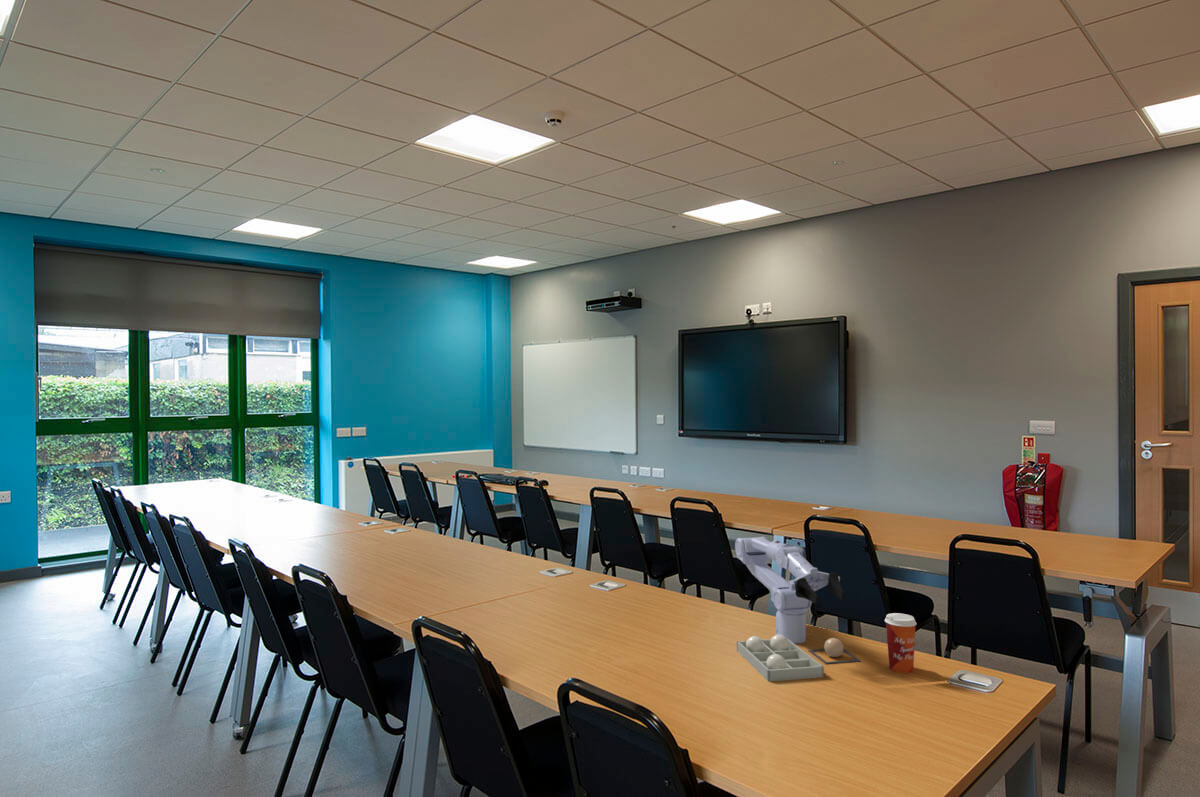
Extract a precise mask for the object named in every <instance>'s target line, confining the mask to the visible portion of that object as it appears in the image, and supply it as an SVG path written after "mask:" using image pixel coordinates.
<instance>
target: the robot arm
mask: <svg viewBox="0 0 1200 797" xmlns="http://www.w3.org/2000/svg"><path fill="white" fill-rule="evenodd" d="M736 538H737V537H736ZM734 550H735V554H736V557H737V560H740V561H741V563H742V564H744V565H745V566H746V567H747V569H748V570H749V572H750V573H751V574H752V576H754V577H755V579H757V580H758V581H759V582H760V583H761V584H763V586H764V587H765V588H767V590H768V591H770V592H771V593H770V596H771V597H770V599H771V602H772V603H773V604H774V607H775V608H776V610H777V611H776V614H775V635H777V634H780V635H783V636H785V637H786V638H787V639H789V640H790V641H791V642H793V643H794V644H803V643H805V642H806V641H807V638H806V636H807V633H806V632H807V631H806V613H808V612H809V609H810V608H811V607H812V603H813V604H815V605H816V604H818V603H819V596H818V594H817V592H816V591H819V589H820V590H821V589H822V588H825V587H826V586H827V585H828V586H827V587H828V593H831V594H833V595H834V596H836V597H837V598H838V599H839V600H845V591H844V590H843V588H842V586H841V583H840V581H841V577H840V576H839V575H838V573H836V572H831V573H828V572H825V571H824V572H823V571H820V570H819V569H818V567H814V566H813V565H812V564H811V563H810V562H809V561H808V560H807V559H806V558H805V557H804V554H803V551H802V549H801V548H800V547H799V546H798V545H794V546H788V544H787V543H781V540H779V539H774V540H773V541H769V540H768V538H767V537H765V536H763V535H762V536H757V537H738V538H737V539H736V540H735V542H734ZM770 560H772V561H774V562H776V564H778V568H780V569H784V570H788V572H789V573H791V575H792V576H793V577H795V578H794V579H792V580H788V581H787V580H786V579H785V578H784V577H783V576H782V575H780V574H779V573H777V571H775V570H774V569H773V568H772V567H771V566H769V565H768V564H770Z"/></svg>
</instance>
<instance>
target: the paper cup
mask: <svg viewBox="0 0 1200 797" xmlns="http://www.w3.org/2000/svg"><path fill="white" fill-rule="evenodd" d="M884 622H885V628H886V638H887V640H886V641H887V642H886V643H887V652H888V665H889V669H890V670H892V671H894V672H897V673H904V674H907V673H913V671H914V666H915V664H914V662H915V660H914V659H915V642H916V641H915V640H916V639H915V638H916V626H917V625H918V624H917V622H916V619H915V617H914V616H913V615H910V614H905V613H901V612H900V613H899V612H898V613H897V612H893V613H888V614H886V617H885V619H884Z"/></svg>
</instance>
